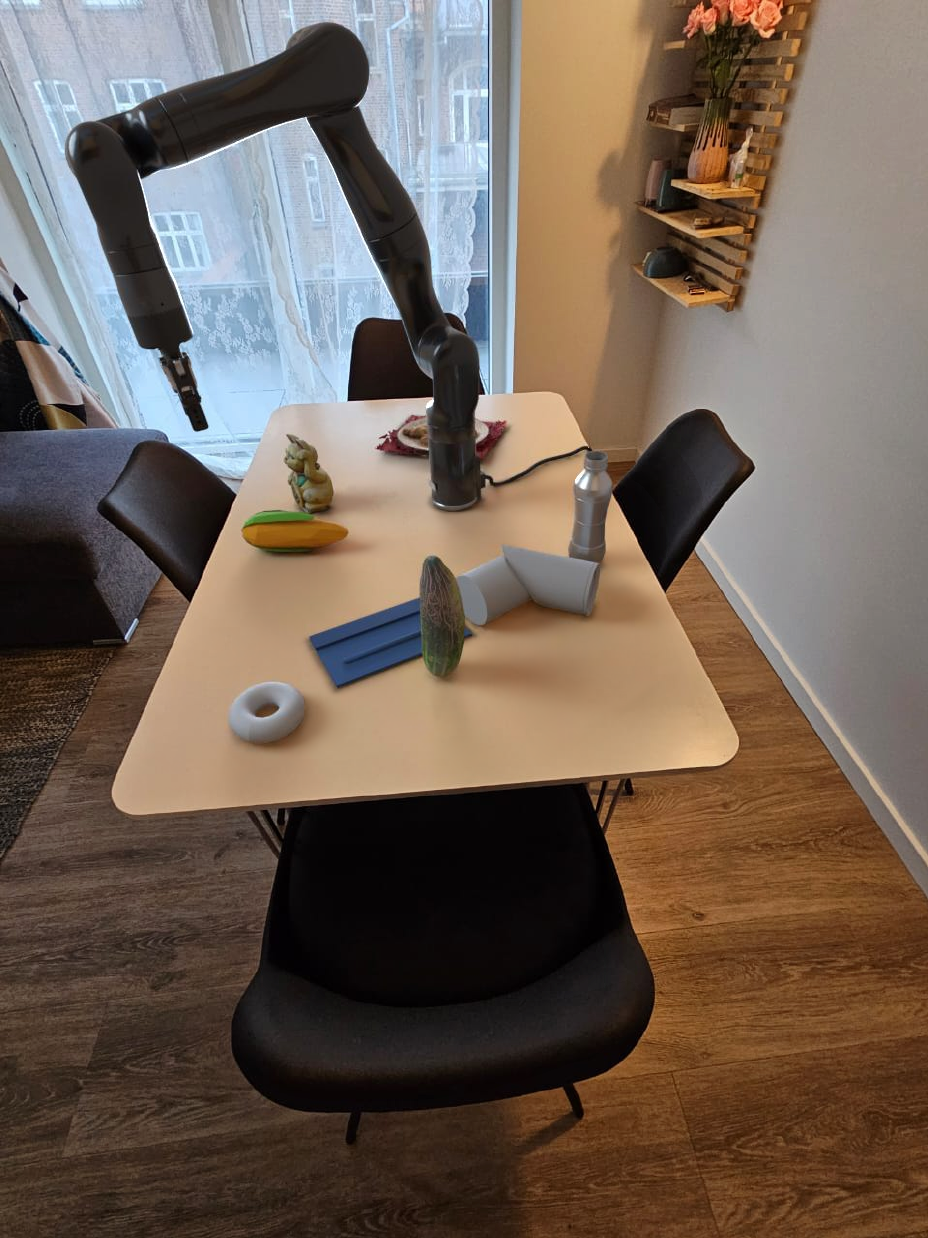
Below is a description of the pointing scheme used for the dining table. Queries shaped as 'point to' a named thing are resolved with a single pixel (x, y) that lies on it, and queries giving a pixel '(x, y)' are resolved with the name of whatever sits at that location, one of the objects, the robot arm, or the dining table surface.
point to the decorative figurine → (307, 476)
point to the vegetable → (440, 618)
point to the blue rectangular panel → (371, 643)
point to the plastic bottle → (591, 509)
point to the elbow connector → (528, 584)
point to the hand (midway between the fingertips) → (197, 421)
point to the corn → (290, 531)
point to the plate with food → (416, 437)
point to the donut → (270, 726)
